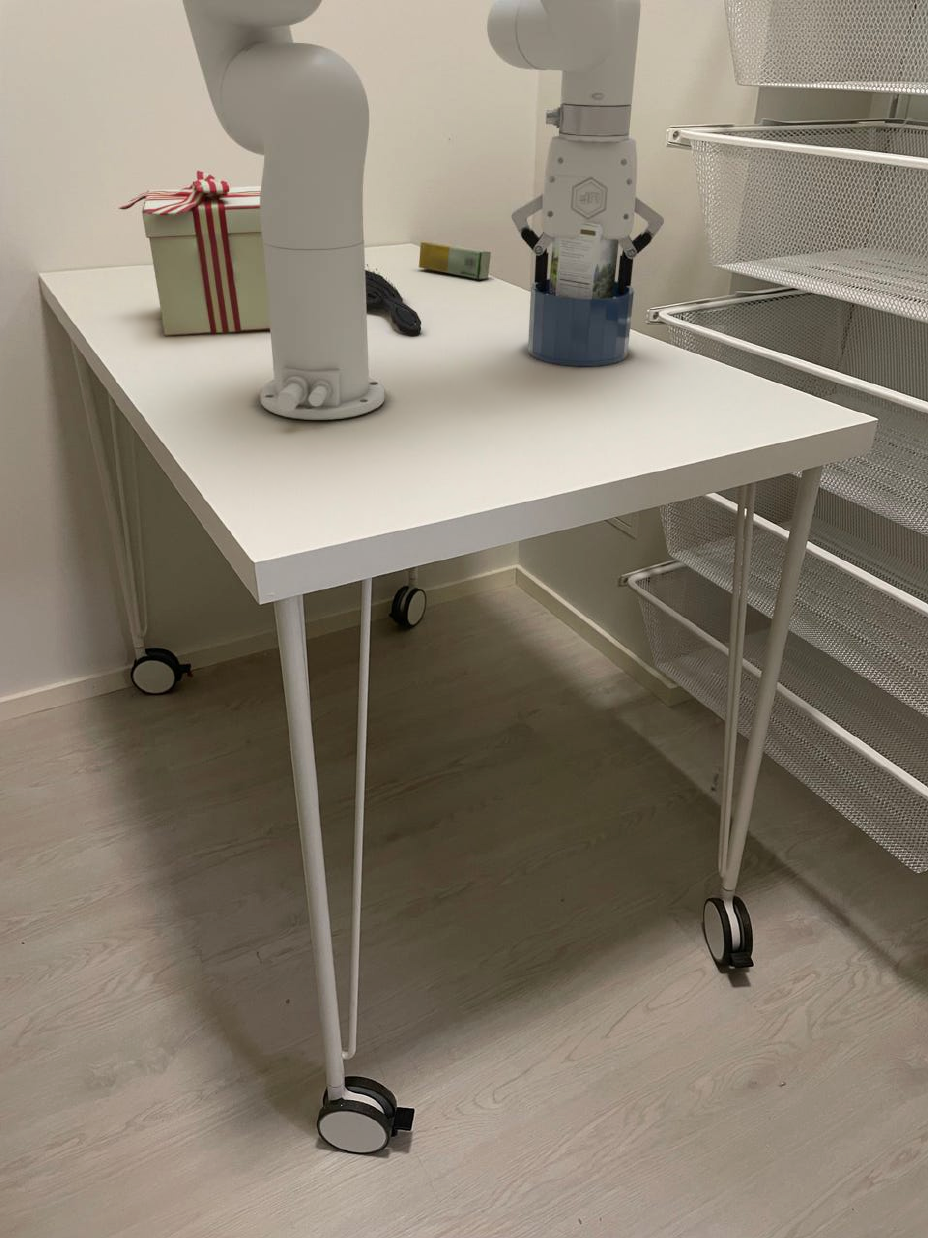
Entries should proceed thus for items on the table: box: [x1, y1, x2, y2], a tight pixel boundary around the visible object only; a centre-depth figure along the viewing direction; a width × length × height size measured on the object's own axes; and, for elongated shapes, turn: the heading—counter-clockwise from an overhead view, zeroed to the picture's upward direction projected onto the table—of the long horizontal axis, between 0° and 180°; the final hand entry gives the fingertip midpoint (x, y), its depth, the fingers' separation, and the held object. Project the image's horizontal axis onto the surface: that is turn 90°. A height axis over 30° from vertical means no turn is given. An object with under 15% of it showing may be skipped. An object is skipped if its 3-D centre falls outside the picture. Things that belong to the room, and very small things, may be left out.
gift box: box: [118, 170, 270, 337], centre depth 122 cm, size 17×18×17 cm
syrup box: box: [549, 222, 620, 299], centre depth 113 cm, size 6×6×14 cm
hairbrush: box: [365, 263, 422, 337], centre depth 131 cm, size 8×4×25 cm
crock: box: [527, 277, 635, 367], centre depth 115 cm, size 12×12×8 cm
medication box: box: [418, 241, 492, 281], centre depth 152 cm, size 12×3×4 cm, turn 55°
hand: (581, 290), depth 113 cm, fingers open, 8 cm apart
